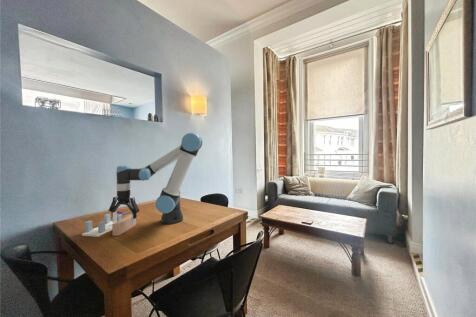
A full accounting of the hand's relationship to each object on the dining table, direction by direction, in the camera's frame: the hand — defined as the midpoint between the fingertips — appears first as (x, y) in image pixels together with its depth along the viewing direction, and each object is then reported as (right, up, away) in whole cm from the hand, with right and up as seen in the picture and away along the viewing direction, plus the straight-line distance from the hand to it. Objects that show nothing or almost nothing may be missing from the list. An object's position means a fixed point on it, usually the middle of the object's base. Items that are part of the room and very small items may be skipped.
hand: (124, 222), depth 128 cm
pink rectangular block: (+1, -5, 0) cm, 5 cm away
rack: (-13, -5, +2) cm, 14 cm away
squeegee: (-23, -5, +35) cm, 42 cm away
